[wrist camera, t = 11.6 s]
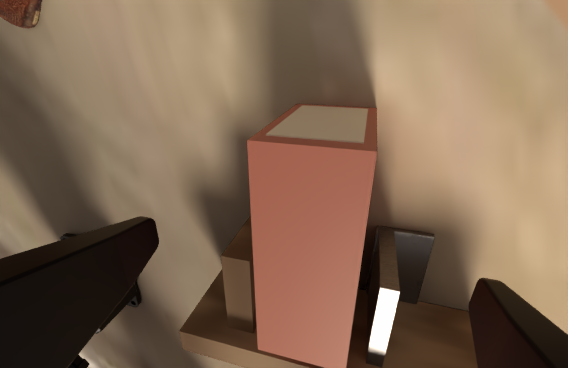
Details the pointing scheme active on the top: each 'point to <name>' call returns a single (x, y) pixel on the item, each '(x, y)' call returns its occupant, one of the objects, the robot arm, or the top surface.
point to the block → (310, 227)
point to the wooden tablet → (21, 12)
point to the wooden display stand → (402, 341)
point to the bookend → (393, 282)
